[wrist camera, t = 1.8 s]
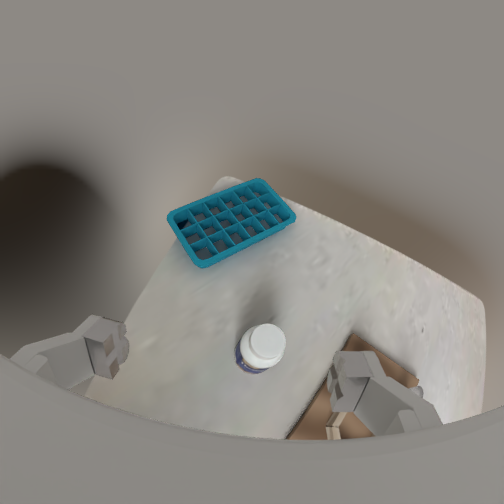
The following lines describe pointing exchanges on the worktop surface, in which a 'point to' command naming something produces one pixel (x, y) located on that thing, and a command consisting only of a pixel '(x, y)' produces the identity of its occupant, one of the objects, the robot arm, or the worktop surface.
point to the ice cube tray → (230, 219)
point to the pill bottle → (260, 348)
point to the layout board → (343, 423)
